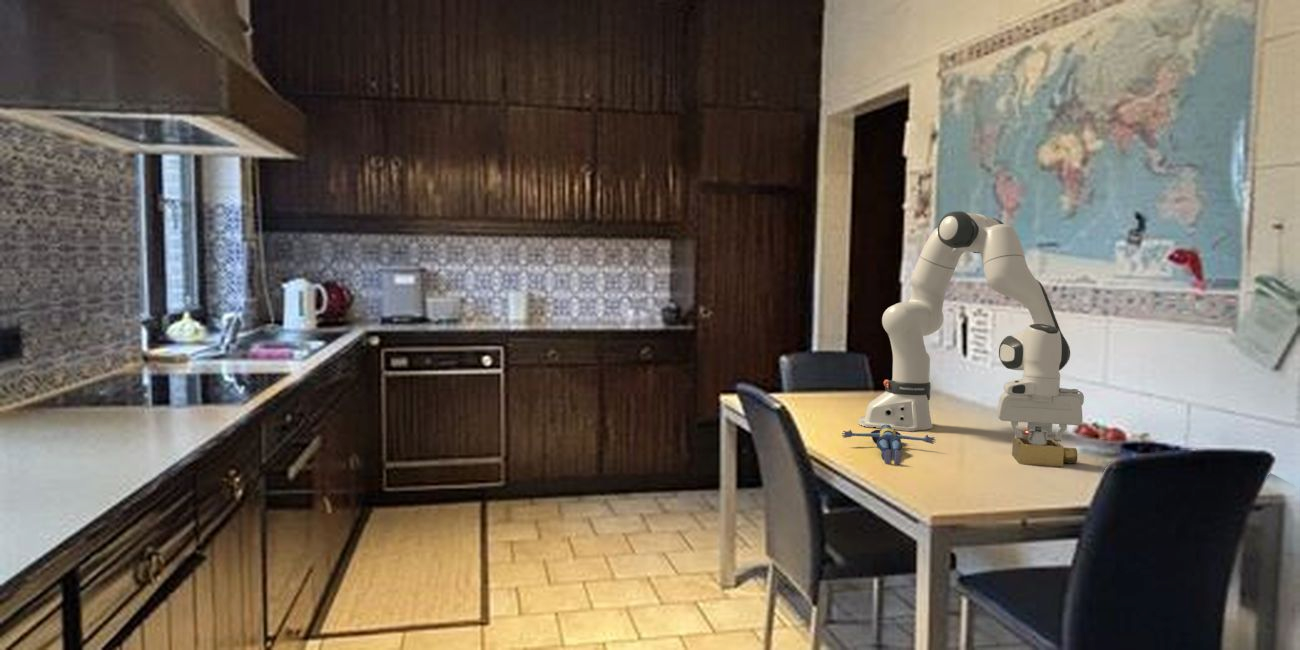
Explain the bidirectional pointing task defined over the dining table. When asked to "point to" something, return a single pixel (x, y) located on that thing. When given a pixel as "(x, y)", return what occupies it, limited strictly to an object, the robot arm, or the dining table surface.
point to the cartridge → (1037, 436)
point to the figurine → (888, 442)
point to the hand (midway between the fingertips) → (1037, 439)
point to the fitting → (1042, 452)
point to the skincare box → (1043, 426)
